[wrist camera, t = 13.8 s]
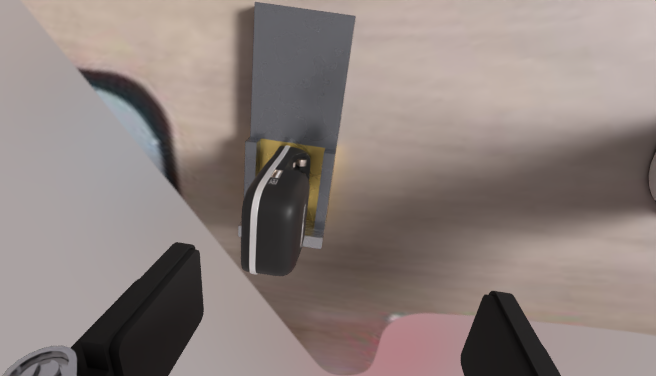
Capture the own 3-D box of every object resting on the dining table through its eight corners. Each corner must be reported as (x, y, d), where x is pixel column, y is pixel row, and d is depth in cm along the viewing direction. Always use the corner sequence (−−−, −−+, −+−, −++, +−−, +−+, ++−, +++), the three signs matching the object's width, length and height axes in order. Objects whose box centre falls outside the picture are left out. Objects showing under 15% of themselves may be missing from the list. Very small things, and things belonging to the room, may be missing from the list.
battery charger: (312, 213, 33) (292, 291, 23) (275, 207, 33) (238, 283, 23) (320, 147, 30) (301, 201, 20) (279, 141, 30) (239, 192, 20)
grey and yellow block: (355, 17, 28) (355, 12, 23) (325, 222, 36) (321, 249, 31) (261, 4, 28) (242, -3, 23) (253, 211, 36) (238, 236, 31)
